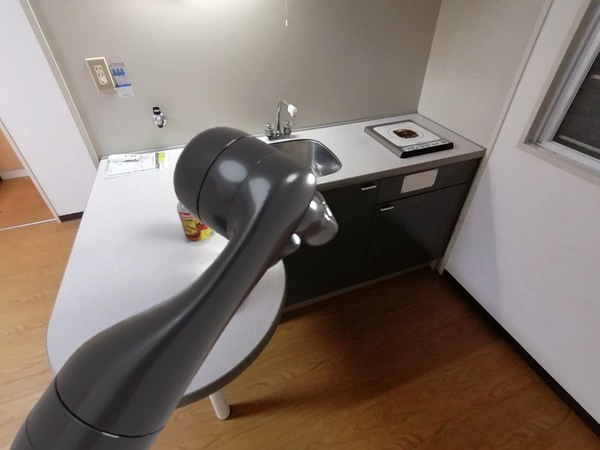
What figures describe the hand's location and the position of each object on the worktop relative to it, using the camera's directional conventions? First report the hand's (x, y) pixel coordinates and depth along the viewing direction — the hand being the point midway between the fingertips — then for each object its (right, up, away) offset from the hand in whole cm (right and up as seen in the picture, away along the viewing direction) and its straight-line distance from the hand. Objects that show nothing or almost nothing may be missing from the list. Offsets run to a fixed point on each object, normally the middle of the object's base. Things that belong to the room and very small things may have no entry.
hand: (219, 281), depth 76 cm
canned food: (-13, +11, +24) cm, 29 cm away
